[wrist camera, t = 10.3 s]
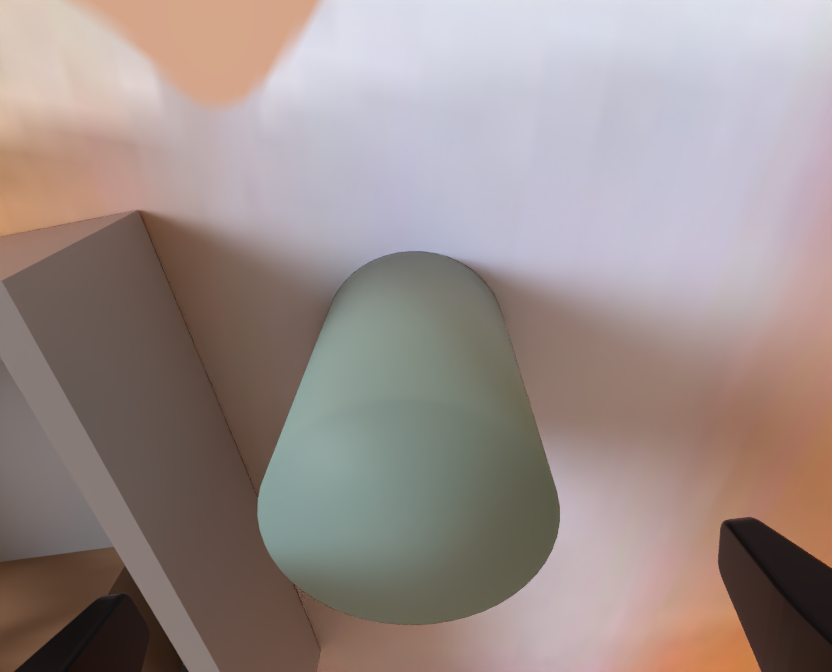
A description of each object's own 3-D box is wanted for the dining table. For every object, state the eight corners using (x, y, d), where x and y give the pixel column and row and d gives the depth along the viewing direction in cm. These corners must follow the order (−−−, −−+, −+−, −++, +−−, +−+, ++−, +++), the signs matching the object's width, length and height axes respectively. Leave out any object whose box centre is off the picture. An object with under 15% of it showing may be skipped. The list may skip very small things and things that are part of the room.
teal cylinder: (492, 235, 14) (546, 374, 8) (513, 397, 16) (569, 608, 10) (304, 269, 15) (213, 425, 8) (349, 422, 17) (304, 637, 10)
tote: (138, 210, 14) (1, 280, 9) (320, 649, 22) (293, 803, 17) (-323, 299, 15) (-636, 399, 11) (5, 684, 23) (-98, 835, 18)
